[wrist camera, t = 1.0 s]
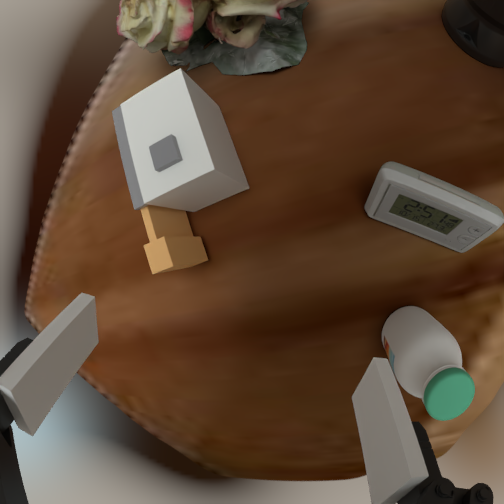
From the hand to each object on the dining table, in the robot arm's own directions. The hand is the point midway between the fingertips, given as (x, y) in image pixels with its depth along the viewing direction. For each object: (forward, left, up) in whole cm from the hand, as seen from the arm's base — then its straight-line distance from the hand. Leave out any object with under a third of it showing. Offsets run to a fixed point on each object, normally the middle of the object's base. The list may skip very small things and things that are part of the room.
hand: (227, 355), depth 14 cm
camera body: (+15, -16, -30) cm, 37 cm away
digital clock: (-16, -10, -30) cm, 35 cm away
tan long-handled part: (+18, -8, -28) cm, 34 cm away
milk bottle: (-16, +6, -30) cm, 34 cm away
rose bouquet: (+11, -41, -30) cm, 52 cm away
